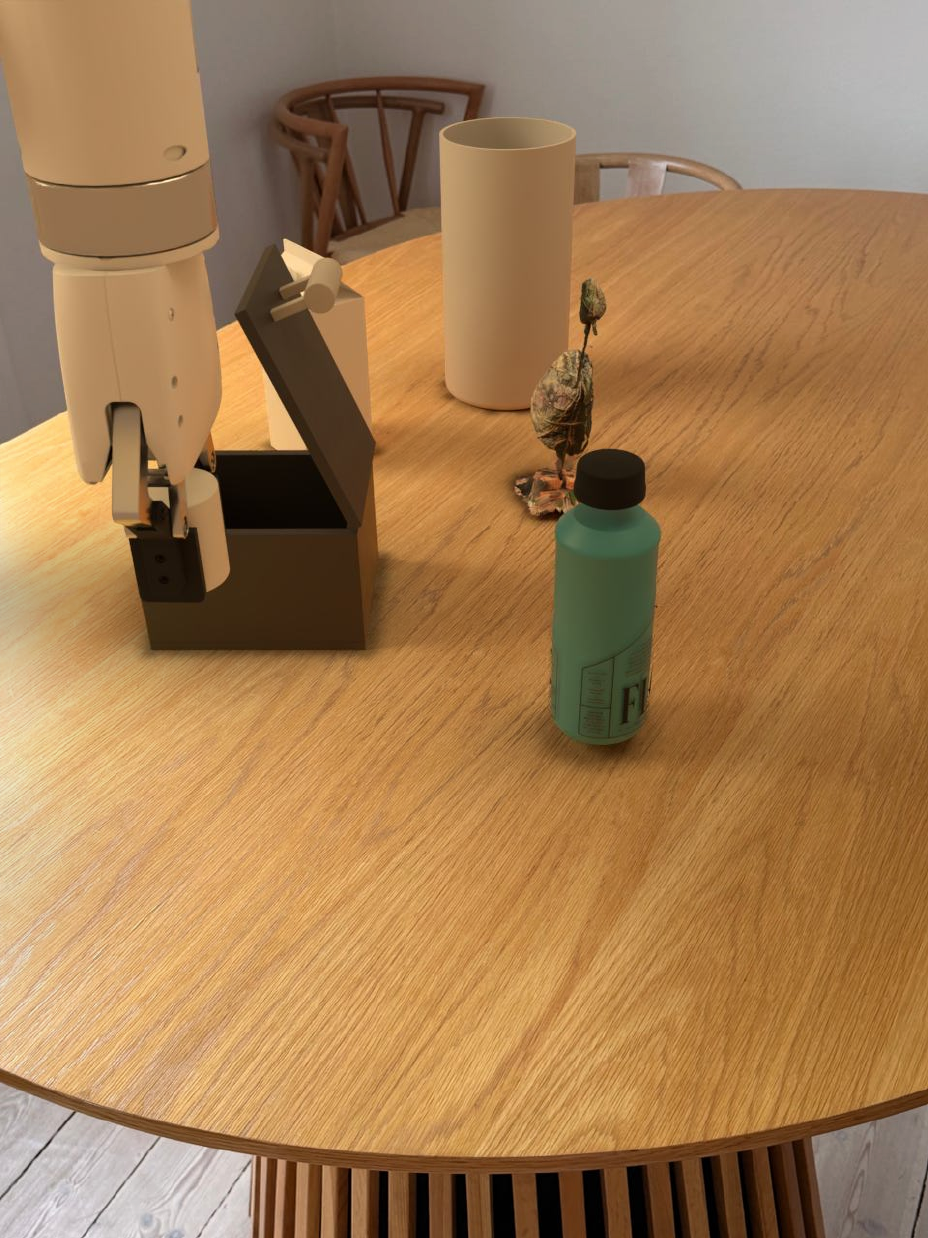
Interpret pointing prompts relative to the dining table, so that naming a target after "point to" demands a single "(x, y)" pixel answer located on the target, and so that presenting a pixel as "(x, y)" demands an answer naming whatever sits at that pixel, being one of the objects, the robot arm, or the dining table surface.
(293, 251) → the milk carton
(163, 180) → the robot arm
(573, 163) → the cylinder vase
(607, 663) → the beverage bottle
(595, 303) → the plant with pod
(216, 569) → the cylinder
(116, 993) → the dining table surface
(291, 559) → the dark hinged wooden chest
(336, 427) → the lid
